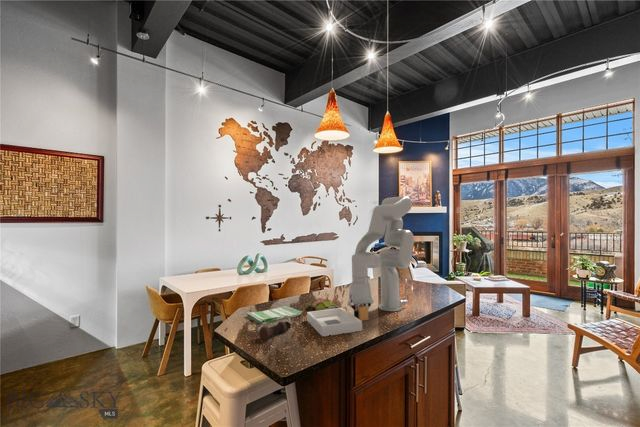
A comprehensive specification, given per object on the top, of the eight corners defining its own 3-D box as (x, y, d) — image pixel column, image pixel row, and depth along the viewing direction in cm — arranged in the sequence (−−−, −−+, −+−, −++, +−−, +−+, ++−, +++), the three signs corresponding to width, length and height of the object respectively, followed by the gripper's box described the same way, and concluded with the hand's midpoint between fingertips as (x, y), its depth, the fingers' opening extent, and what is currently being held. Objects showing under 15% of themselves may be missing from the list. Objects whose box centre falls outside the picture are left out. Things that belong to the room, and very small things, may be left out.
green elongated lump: (326, 316, 143) (302, 296, 165) (327, 329, 145) (304, 308, 166) (346, 307, 149) (321, 290, 170) (347, 321, 150) (322, 301, 172)
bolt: (290, 333, 130) (264, 344, 118) (283, 326, 133) (257, 335, 121) (295, 323, 129) (269, 332, 117) (287, 315, 131) (262, 324, 119)
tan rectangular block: (362, 316, 146) (361, 300, 146) (368, 319, 140) (367, 303, 141) (355, 317, 144) (354, 301, 145) (360, 320, 139) (360, 304, 139)
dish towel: (303, 315, 151) (303, 310, 151) (262, 326, 136) (262, 320, 136) (284, 308, 165) (284, 303, 165) (245, 317, 150) (245, 312, 150)
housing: (341, 315, 147) (341, 307, 148) (362, 330, 127) (362, 321, 127) (307, 320, 142) (307, 312, 142) (322, 336, 121) (322, 326, 121)
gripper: (371, 277, 150) (372, 313, 149) (341, 279, 145) (342, 317, 144) (379, 279, 143) (380, 318, 142) (347, 282, 138) (348, 322, 137)
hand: (361, 317), depth 143 cm, fingers closed on tan rectangular block, 3 cm apart
